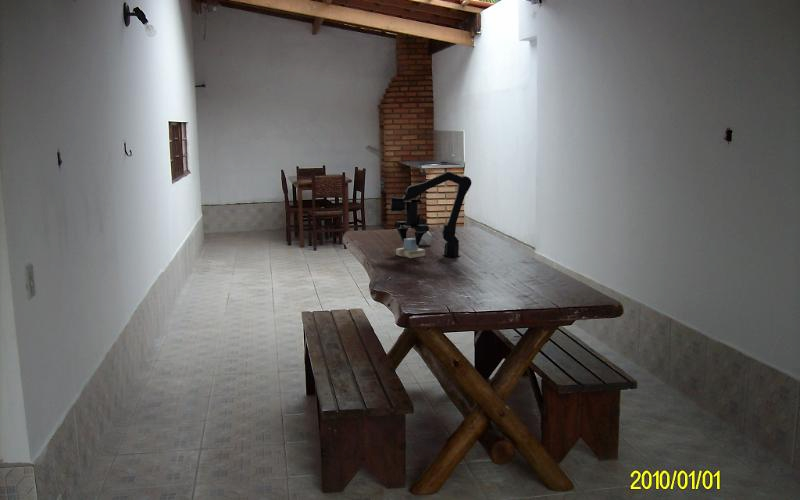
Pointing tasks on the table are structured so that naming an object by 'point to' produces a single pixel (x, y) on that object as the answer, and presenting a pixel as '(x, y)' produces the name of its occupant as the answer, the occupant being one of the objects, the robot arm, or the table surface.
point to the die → (425, 238)
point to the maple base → (410, 252)
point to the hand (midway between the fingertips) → (411, 244)
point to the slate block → (410, 244)
